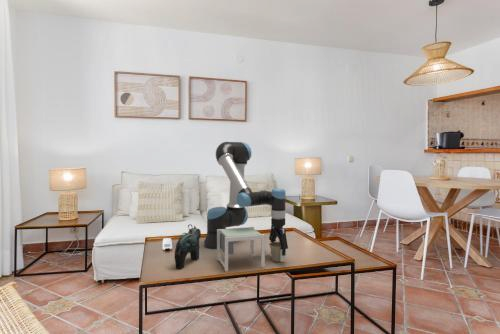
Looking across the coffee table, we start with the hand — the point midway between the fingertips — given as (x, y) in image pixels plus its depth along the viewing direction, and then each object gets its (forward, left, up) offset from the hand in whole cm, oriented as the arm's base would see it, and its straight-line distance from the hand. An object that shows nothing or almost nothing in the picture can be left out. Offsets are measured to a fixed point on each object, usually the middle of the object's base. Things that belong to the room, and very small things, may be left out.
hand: (277, 257), depth 170 cm
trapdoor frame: (-15, -15, -1) cm, 21 cm away
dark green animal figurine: (-38, -28, -2) cm, 47 cm away
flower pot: (0, 0, -2) cm, 2 cm away
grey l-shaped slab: (-15, -15, +6) cm, 22 cm away
